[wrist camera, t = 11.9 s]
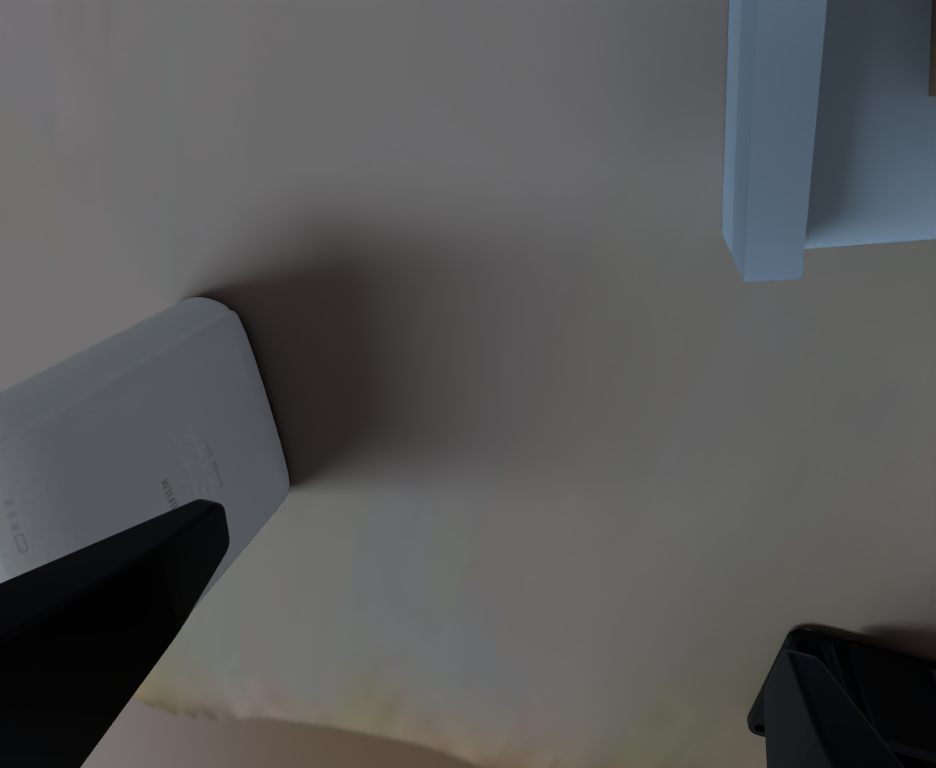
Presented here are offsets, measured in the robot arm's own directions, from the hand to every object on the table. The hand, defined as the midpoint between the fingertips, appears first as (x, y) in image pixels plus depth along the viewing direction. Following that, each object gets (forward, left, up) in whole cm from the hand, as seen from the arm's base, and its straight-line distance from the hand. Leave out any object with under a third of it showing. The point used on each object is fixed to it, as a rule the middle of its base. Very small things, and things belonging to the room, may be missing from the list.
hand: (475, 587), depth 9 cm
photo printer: (-7, +14, -13) cm, 21 cm away
